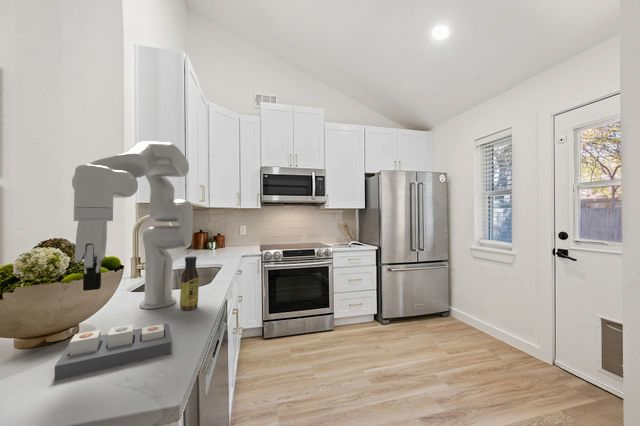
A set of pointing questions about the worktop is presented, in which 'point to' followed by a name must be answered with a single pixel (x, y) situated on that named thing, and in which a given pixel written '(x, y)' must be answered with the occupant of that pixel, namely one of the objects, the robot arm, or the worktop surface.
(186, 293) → the sauce bottle
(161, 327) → the dot key
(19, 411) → the worktop surface
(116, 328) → the plain key
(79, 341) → the dot key
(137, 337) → the slotted grey tray
